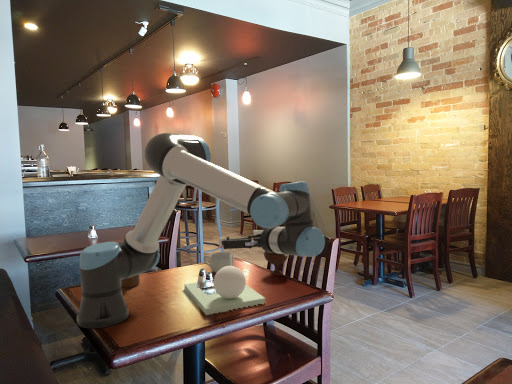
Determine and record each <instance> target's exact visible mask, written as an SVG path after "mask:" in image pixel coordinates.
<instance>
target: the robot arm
mask: <svg viewBox="0 0 512 384" xmlns="http://www.w3.org/2000/svg"><path fill="white" fill-rule="evenodd" d="M211 159H212V155H211V151H210V145H208V143H207V142H206V141H205V139H204V138H202V137H200V136H197V135H194V134H193V135H192V134H179V133H171V132H164V133H159V134H156V135H154V136H152V138H150V139H149V141H147V143H146V145H145V147H144V160H145V162H146V164H147V166H148V168H149V169H151V170H152V171H153V172H155V174H158V175H159V176H158V179H157V180H156V183H155V185H154V187H153V189H152V191H151V193H150V194H149V197H148V200H147V201H146V204H145V206H144V208H143V210H142V211H141V214H140V216H139V218H138V220H137V222H136V224H135V227H134V229H132V230H129V231H128V232H126V235H124V239H123V240H122V242H121V243H118V242H116V241H105V242H99V243H95V244H91V245H89V246H86V247H85V248H84V249H82V250H81V252H80V255H79V264H78V265H79V272H80V285H81V286H80V288H81V299H80V300H81V301H80V304H79V306H78V307H79V308H78V312H77V314H76V325H78V327H80V328H82V329H83V328H84V329H102V328H107V327H112V326H114V325H118V324H120V323H122V322H124V321H125V320H126V319H128V317H129V316H130V315H129V306H128V305H127V303H126V300H125V297H124V294H123V291H122V289H123V287H121V280H123V279H126V278H129V277H132V276H135V275H138V274H139V275H141V274H146V273H147V272H149V271H151V270H153V269H154V268H155V267H156V266H157V265H158V263H159V261H160V257H161V253H160V243H159V241H158V240H159V239H160V237H161V234H162V233H163V231H164V228H165V226H166V224H167V223H168V221H169V219H170V217H171V215H172V213H173V211H174V209H175V208H176V205H177V203H178V201H179V199H180V197H181V195H182V194H183V191H184V190H185V187H186V186H191V187H193V188H195V189H197V190H198V191H200V192H203V193H205V194H206V195H208V196H210V197H212V198H215V199H217V200H218V201H221V202H222V203H225V204H227V205H228V206H231V207H233V208H235V209H237V210H240V211H241V212H243V213H245V214H247V215H249V216H250V217H251V219H252V220H253V222H254V223H255V224H256V226H258V227H261V228H264V229H262V230H261V229H258V230H257V229H253V230H252V232H253V233H252V234H251V235H248V236H247V237H238V238H237V237H236V238H231V237H230V236H226V237H221V236H220V237H218V243H219V244H218V245H219V247H220V246H222V247H223V250H230V249H232V250H234V249H235V250H237V249H252V248H261V249H262V250H263V252H265V251H266V252H268V253H278V254H284V255H285V256H288V257H289V256H297V257H302V258H304V257H305V258H306V257H309V258H310V257H317V256H319V255H320V254H322V251H323V250H324V248H325V244H326V240H325V235H324V234H323V232H322V230H321V229H320V228H318V227H315V226H314V222H313V221H314V219H313V213H312V203H311V193H310V190H309V184H308V183H307V182H306V181H303V180H302V181H296V182H290V183H282V184H281V185H280V186H279V192H276V191H275V190H272V189H270V188H267V187H266V186H265V187H264V186H263V185H261V184H258V183H257V182H254V181H253V180H250V179H247V178H246V177H243V176H241V175H238V174H237V173H235V172H232V171H230V170H227V169H225V168H223V167H221V166H219V165H216V164H214V163H212V162H211ZM283 224H284V226H281V225H283ZM252 238H253V239H252Z"/></svg>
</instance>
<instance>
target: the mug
mask: <svg viewBox="0 0 512 384" xmlns="http://www.w3.org/2000/svg"><path fill="white" fill-rule="evenodd" d="M139 285H140V274H138V275H135V276H132V277H129V278H126V279H123V280H121V288H122V289H123V288H125V289H127V288H128V289H129V288H135V287H137V286H139Z"/></svg>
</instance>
